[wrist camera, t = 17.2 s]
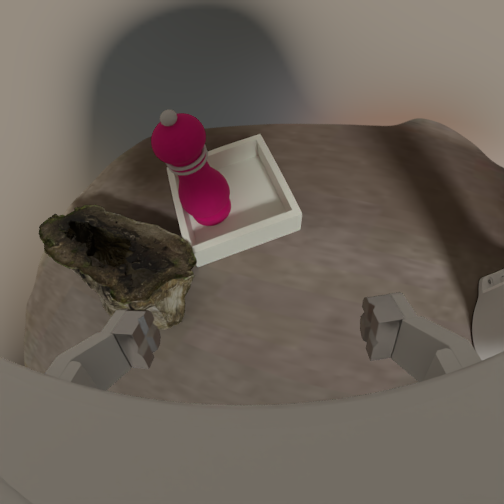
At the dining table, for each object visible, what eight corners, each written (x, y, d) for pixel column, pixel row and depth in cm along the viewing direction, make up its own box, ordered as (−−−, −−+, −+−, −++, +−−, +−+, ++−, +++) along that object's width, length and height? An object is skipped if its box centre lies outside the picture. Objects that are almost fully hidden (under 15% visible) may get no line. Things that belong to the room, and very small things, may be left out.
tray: (262, 153, 46) (260, 134, 41) (300, 229, 40) (302, 213, 35) (176, 184, 45) (166, 167, 41) (198, 267, 39) (186, 255, 35)
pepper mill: (180, 213, 42) (121, 125, 23) (211, 181, 43) (171, 84, 25) (212, 238, 40) (158, 148, 21) (244, 203, 41) (216, 100, 22)
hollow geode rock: (94, 250, 48) (33, 278, 36) (94, 190, 42) (23, 211, 30) (202, 324, 40) (135, 384, 28) (217, 253, 34) (127, 310, 22)
